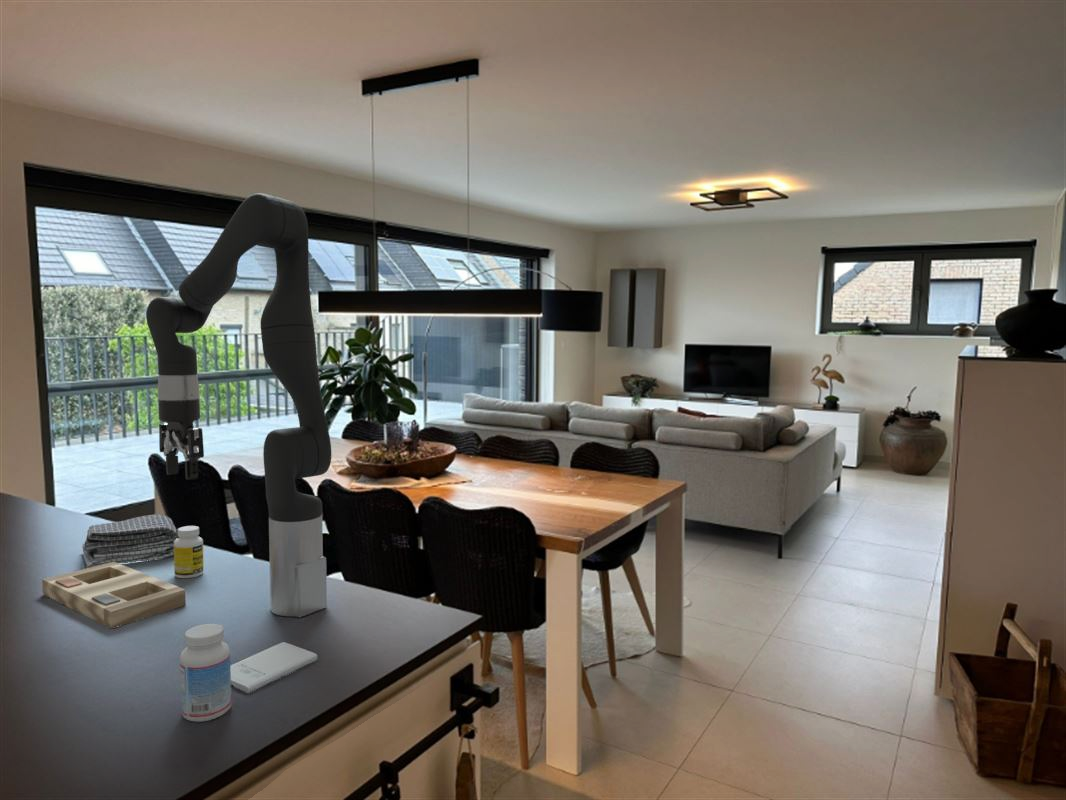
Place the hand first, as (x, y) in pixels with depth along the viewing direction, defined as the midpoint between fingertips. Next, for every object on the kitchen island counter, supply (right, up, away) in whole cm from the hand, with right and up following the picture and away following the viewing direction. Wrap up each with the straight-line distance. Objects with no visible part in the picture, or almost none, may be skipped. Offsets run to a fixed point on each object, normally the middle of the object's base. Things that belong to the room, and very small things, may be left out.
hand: (182, 476), depth 146 cm
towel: (-18, -19, +14) cm, 30 cm away
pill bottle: (+28, -26, -50) cm, 63 cm away
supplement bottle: (+1, -21, +2) cm, 21 cm away
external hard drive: (+31, -26, -38) cm, 56 cm away
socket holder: (-7, -22, -12) cm, 26 cm away
